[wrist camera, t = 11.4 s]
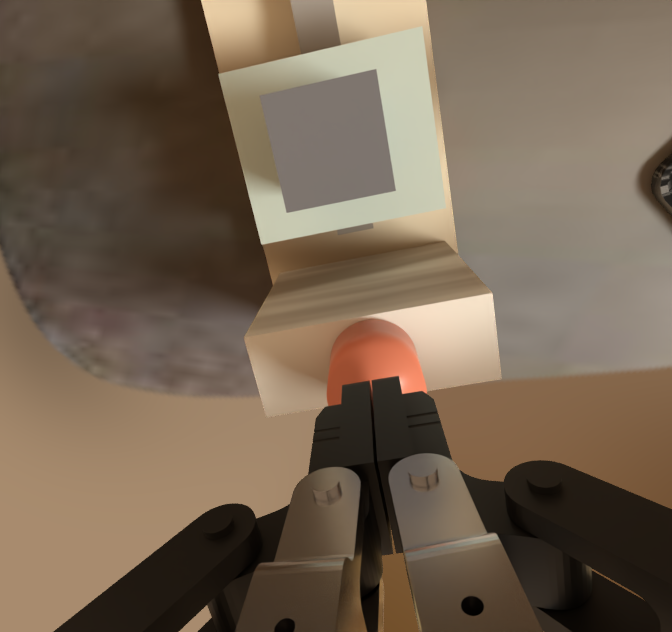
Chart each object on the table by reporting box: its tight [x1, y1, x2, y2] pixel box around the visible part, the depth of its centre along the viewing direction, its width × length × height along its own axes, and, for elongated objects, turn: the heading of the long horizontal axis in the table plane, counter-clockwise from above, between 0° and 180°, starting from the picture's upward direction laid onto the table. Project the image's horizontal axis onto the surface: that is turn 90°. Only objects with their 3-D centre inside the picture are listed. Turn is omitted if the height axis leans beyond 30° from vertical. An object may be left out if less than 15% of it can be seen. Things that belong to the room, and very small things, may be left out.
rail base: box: [201, 0, 502, 417], centre depth 18 cm, size 22×9×10 cm, turn 11°
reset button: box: [327, 319, 427, 406], centre depth 15 cm, size 3×3×2 cm
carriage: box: [218, 26, 446, 245], centre depth 17 cm, size 6×7×8 cm
